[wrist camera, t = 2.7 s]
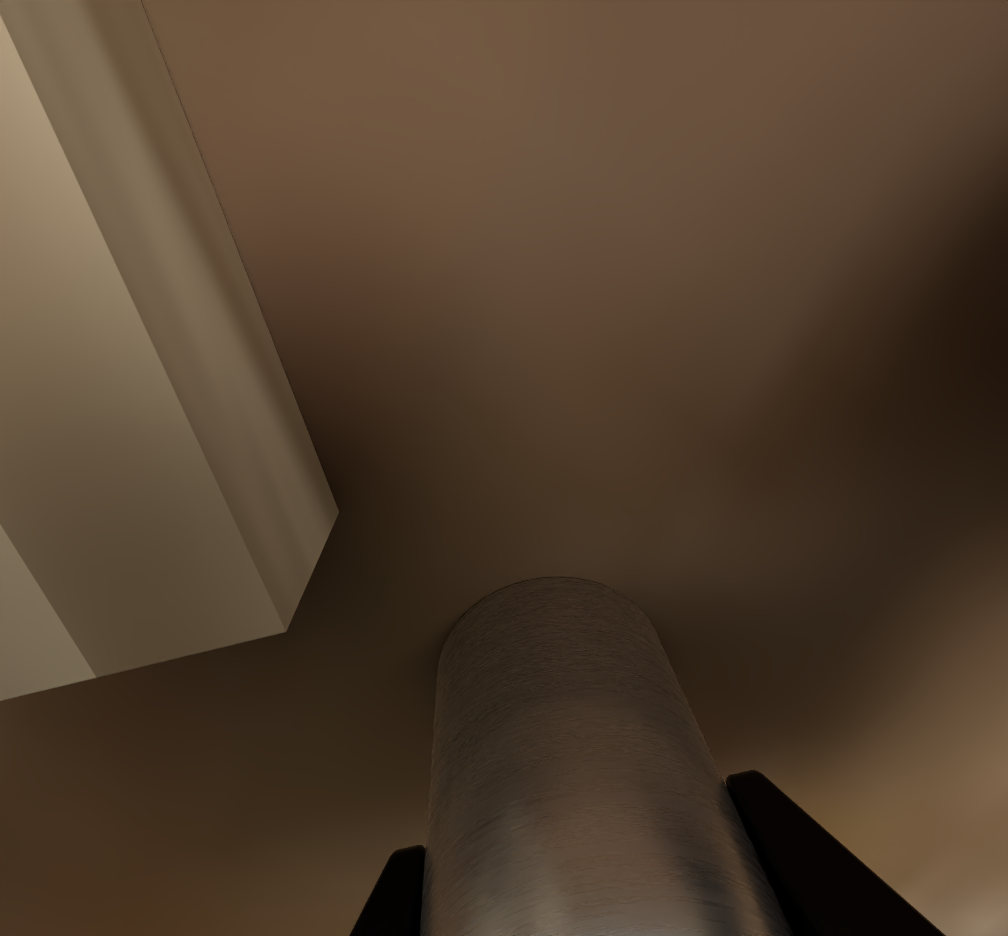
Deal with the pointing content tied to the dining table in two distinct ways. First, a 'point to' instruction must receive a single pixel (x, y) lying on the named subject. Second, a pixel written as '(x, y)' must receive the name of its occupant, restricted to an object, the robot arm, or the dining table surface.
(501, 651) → the grey cylinder
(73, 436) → the frame
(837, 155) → the dining table surface
